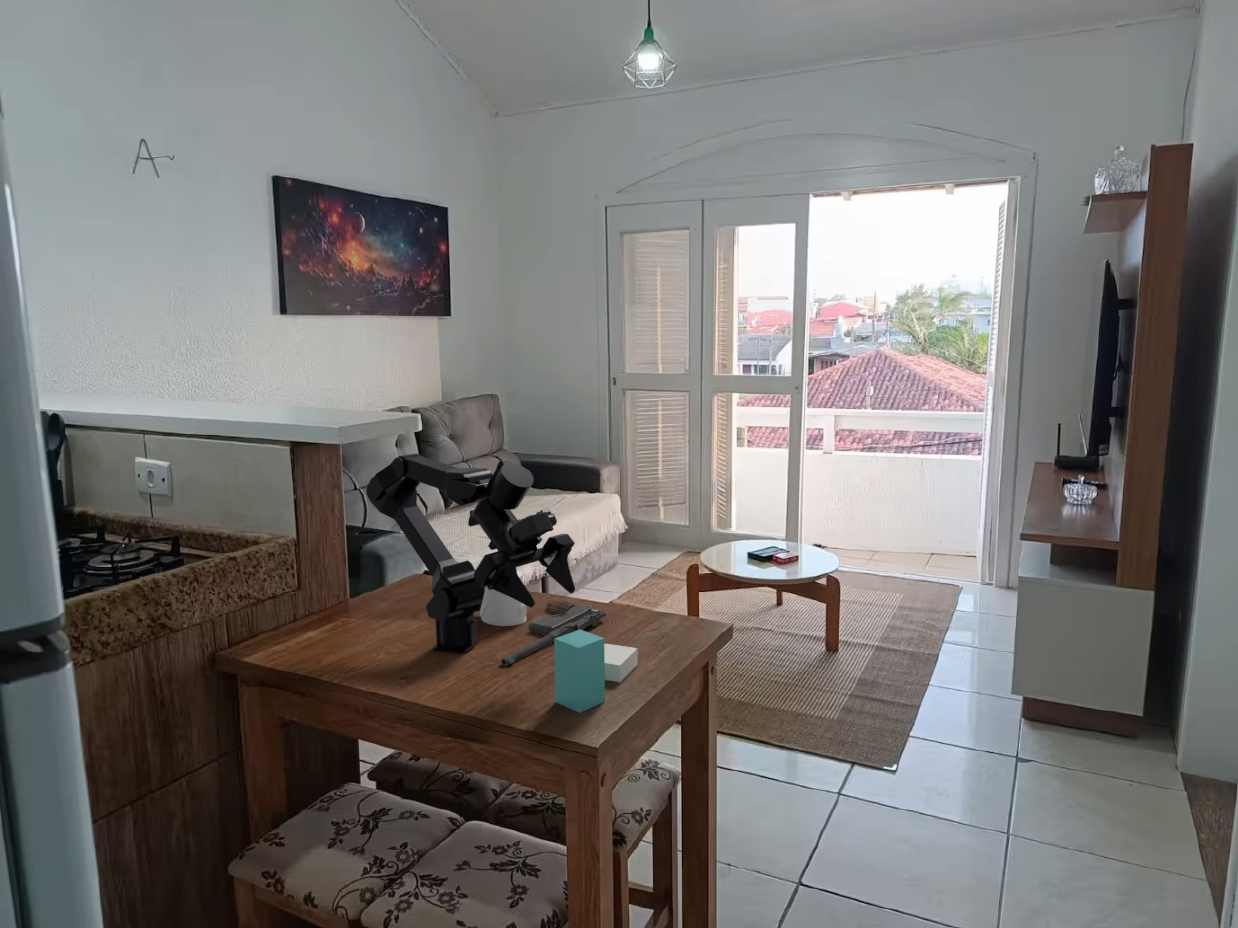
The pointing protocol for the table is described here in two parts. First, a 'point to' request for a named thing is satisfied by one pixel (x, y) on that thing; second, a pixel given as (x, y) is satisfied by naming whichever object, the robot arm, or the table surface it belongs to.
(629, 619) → the table surface
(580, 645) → the tall brick
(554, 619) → the firearm
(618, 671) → the base brick
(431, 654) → the table surface
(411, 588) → the table surface
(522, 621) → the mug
